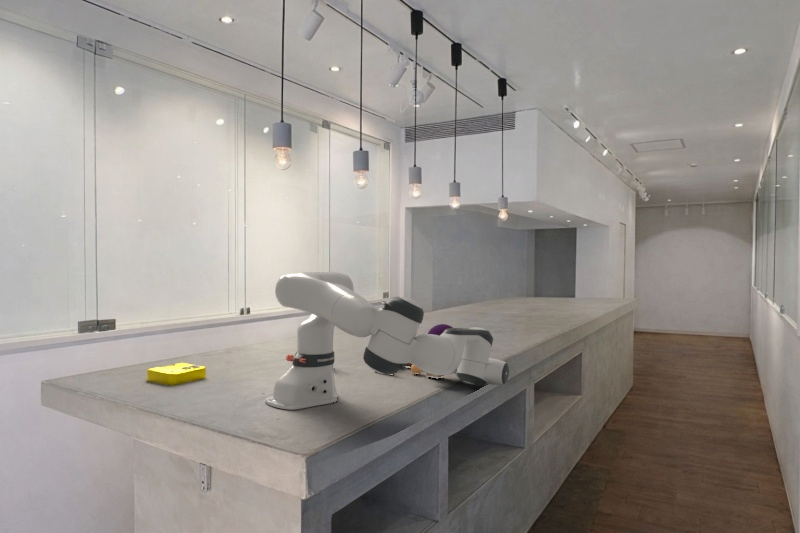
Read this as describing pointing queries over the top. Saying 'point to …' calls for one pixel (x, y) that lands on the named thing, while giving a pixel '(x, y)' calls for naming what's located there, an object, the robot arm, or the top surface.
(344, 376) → the top surface
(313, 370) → the robot arm
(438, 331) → the toy ball
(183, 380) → the element tile
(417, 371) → the ball
